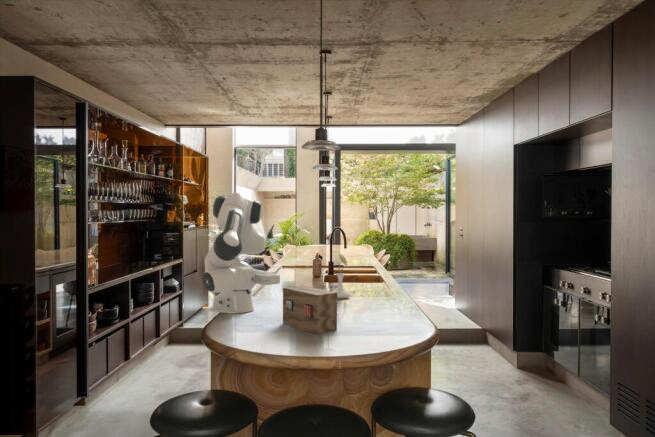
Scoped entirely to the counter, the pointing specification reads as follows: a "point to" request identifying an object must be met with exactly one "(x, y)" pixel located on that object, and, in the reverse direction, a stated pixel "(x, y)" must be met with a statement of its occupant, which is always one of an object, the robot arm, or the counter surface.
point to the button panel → (322, 309)
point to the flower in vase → (340, 290)
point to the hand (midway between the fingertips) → (276, 274)
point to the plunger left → (289, 305)
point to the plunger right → (308, 310)
